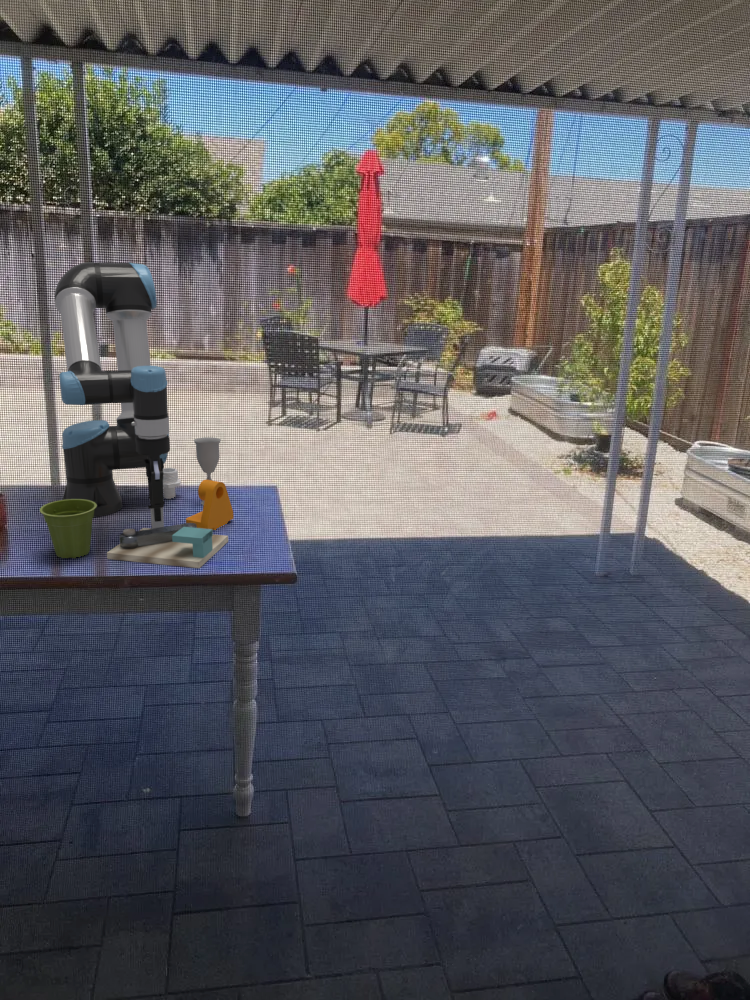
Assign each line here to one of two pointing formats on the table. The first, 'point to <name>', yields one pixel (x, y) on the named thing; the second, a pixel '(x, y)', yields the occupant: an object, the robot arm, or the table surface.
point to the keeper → (195, 539)
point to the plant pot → (70, 526)
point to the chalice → (207, 454)
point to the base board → (165, 552)
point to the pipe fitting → (170, 482)
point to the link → (151, 536)
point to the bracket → (212, 506)
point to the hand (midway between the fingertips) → (158, 532)
